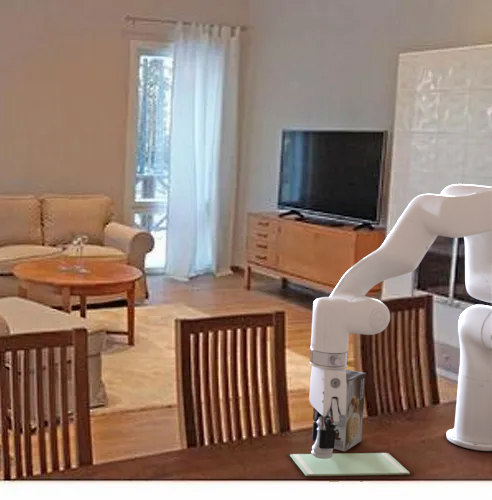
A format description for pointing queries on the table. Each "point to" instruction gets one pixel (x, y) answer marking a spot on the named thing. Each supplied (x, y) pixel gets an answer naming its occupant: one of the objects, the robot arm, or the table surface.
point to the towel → (349, 464)
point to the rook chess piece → (316, 450)
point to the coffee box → (351, 412)
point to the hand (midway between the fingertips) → (323, 443)
